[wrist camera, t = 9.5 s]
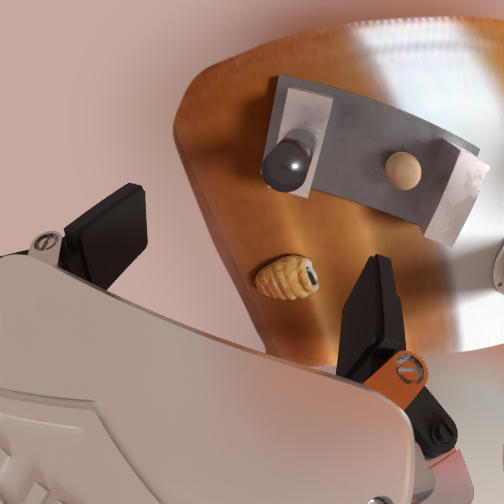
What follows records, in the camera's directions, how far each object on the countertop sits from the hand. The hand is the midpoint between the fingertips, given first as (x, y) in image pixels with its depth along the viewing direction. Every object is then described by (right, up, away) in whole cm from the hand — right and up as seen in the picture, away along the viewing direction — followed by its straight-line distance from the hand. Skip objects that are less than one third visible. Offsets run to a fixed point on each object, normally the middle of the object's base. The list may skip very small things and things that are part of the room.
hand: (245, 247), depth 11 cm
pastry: (+6, -3, +31) cm, 32 cm away
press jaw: (+6, +12, +17) cm, 22 cm away
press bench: (+14, +11, +18) cm, 25 cm away
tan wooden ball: (+16, +8, +14) cm, 23 cm away
